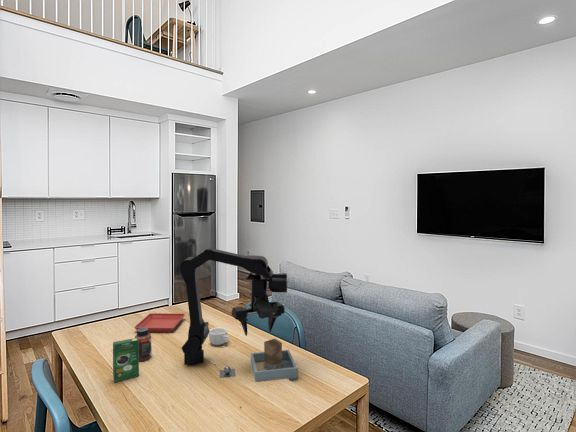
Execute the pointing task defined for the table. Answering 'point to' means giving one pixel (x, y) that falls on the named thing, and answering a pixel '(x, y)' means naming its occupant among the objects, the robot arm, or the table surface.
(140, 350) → the supplement bottle
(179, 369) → the table surface
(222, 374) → the knob on square plate
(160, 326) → the plant saucer
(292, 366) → the bin
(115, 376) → the coffee box
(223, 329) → the teacup
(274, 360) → the strut
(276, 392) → the table surface
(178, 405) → the table surface
